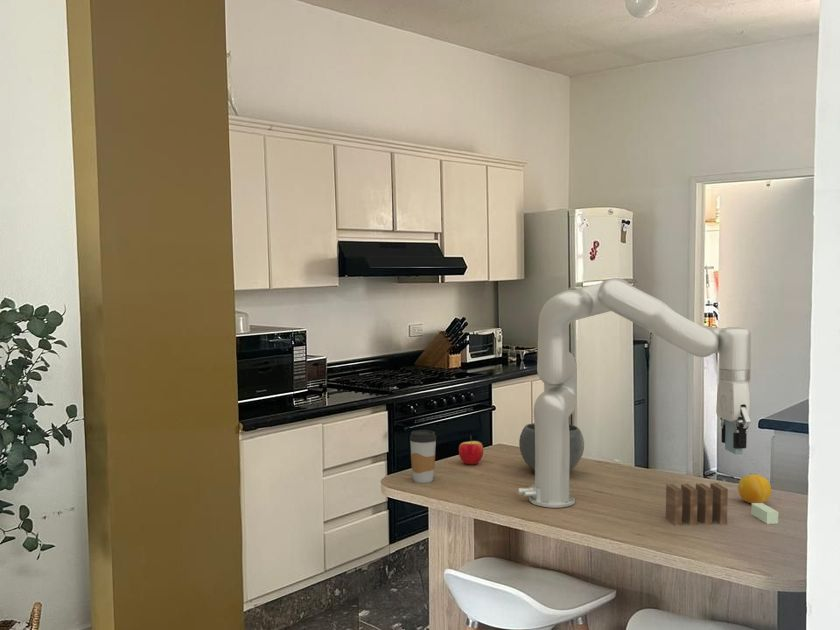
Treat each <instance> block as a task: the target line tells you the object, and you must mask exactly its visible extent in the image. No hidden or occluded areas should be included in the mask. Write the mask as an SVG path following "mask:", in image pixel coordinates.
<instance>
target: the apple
mask: <svg viewBox="0 0 840 630" xmlns="http://www.w3.org/2000/svg"><path fill="white" fill-rule="evenodd" d="M470 438H472V435H470ZM458 455H459V457H460V458H459V459H460V460H461V461H462V462H463V463H464V464H466V465H477V464H478V463H480V462H481V460H482V458H483V455H484V445H483V443H482V442H480V441H478V440H470V441H463V442H461V443H460V444H459V446H458Z"/></svg>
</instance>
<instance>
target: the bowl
mask: <svg viewBox="0 0 840 630" xmlns="http://www.w3.org/2000/svg"><path fill="white" fill-rule="evenodd" d="M569 435H570V462H569V472H570V471H572V470H573V469H574V468H575V467H576V466H577V465H578V463H580V462H579V461H580V460H581V458H582V457H583V454H584V450H585V440H584V436H583V433H582V431H581V430H580V428H579V427H578V426H576V425H573V424H570V423H569ZM519 436H520V437H519V444H518V446H519V451H520V455H521V457H522V459H523V461H524V462H525V463H526V465H527V466H528V467H530V469H531V470H534V471H535V424H534V423H528V424H526V425H524V427H523V429H522V431H521V433H520V435H519Z"/></svg>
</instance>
